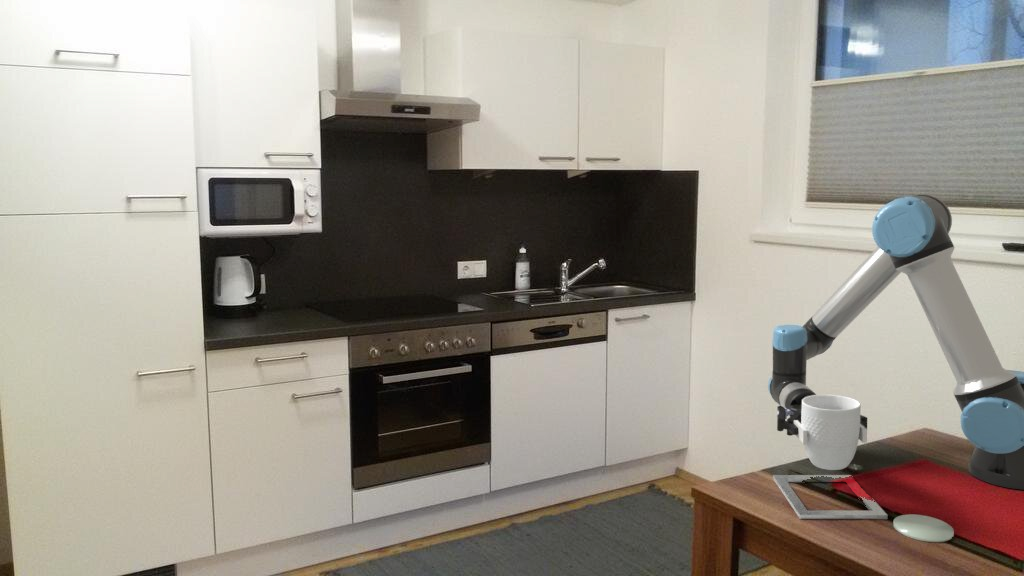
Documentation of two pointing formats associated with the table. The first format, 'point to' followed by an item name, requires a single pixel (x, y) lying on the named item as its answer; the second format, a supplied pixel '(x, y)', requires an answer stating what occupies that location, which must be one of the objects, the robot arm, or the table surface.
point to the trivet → (923, 528)
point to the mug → (831, 429)
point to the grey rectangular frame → (803, 513)
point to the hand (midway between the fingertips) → (835, 436)
